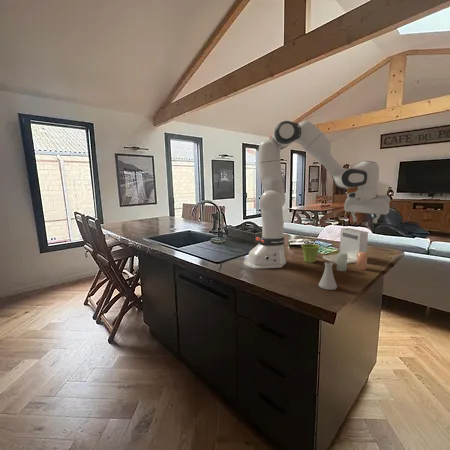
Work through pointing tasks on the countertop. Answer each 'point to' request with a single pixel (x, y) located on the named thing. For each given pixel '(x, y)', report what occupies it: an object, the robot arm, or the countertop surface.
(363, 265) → the terracotta part
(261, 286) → the countertop surface
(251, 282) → the countertop surface
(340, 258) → the sage part
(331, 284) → the flask
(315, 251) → the plant pot
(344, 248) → the service unit
